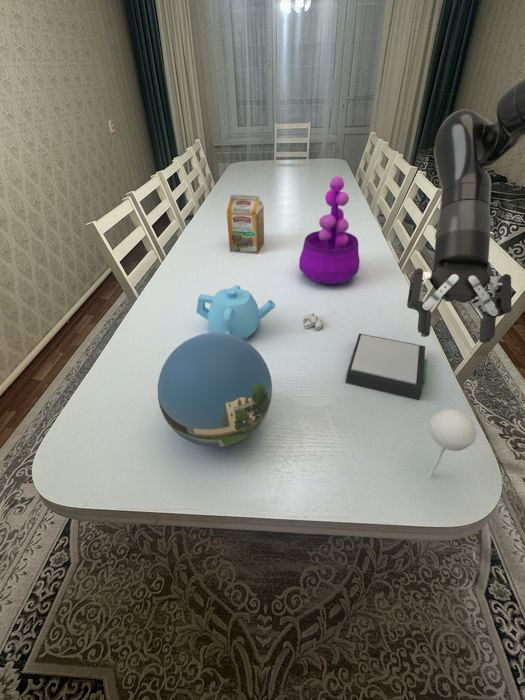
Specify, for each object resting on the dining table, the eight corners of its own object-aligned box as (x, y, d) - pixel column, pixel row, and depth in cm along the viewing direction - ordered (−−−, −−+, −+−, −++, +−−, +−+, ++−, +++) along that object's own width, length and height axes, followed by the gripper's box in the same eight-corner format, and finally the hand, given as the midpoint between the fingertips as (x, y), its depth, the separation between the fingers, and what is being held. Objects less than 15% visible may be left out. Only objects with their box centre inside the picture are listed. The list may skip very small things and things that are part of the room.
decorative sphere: (176, 393, 76) (156, 313, 64) (268, 387, 77) (266, 307, 64) (162, 475, 61) (133, 392, 48) (277, 466, 61) (277, 382, 49)
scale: (424, 356, 84) (428, 344, 81) (422, 401, 73) (426, 388, 70) (357, 343, 88) (359, 331, 86) (345, 382, 77) (347, 370, 75)
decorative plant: (290, 269, 121) (293, 172, 102) (339, 260, 125) (350, 166, 106) (313, 295, 107) (321, 188, 88) (368, 285, 111) (387, 181, 92)
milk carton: (264, 242, 139) (263, 191, 128) (257, 253, 131) (255, 199, 120) (238, 240, 142) (234, 190, 130) (229, 251, 134) (225, 198, 122)
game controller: (298, 326, 94) (298, 318, 93) (318, 307, 102) (319, 299, 100) (317, 333, 92) (317, 324, 90) (337, 313, 99) (338, 305, 97)
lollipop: (403, 474, 60) (426, 414, 51) (422, 454, 63) (448, 394, 53) (438, 501, 56) (470, 441, 47) (457, 478, 59) (490, 418, 50)
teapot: (191, 348, 88) (184, 307, 81) (206, 311, 101) (201, 273, 94) (272, 352, 86) (272, 310, 79) (277, 314, 99) (277, 275, 92)
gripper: (421, 225, 54) (412, 330, 52) (525, 229, 52) (519, 340, 50) (408, 245, 61) (400, 338, 60) (499, 250, 59) (493, 347, 57)
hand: (454, 339), depth 55 cm, fingers open, 8 cm apart
